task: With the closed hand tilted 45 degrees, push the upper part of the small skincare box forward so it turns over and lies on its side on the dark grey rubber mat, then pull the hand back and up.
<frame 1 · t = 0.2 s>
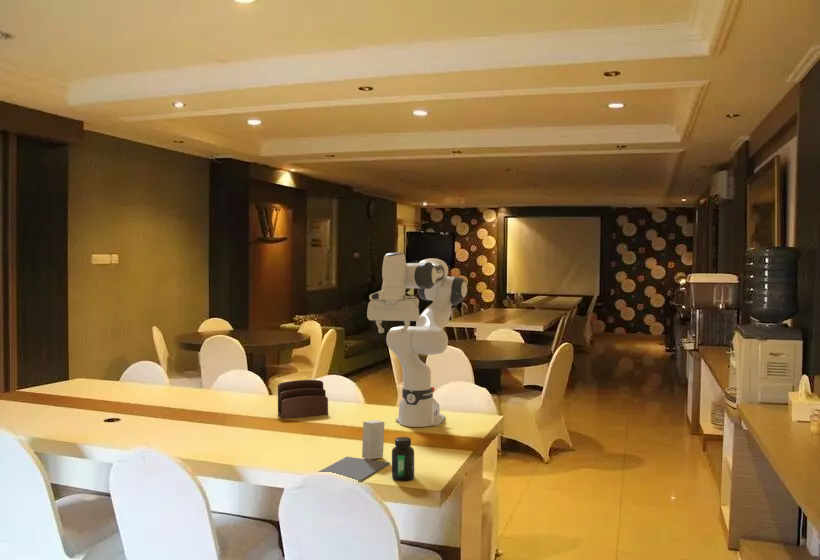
hand: (392, 333, 257), 39 cm above the table, tool pointing down, fingers open, 8 cm apart
supplement bottle: (403, 478, 212), on the table
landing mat: (353, 469, 220), on the table
skincare box: (372, 458, 232), on the table, touching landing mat
letter holder: (302, 415, 297), on the table
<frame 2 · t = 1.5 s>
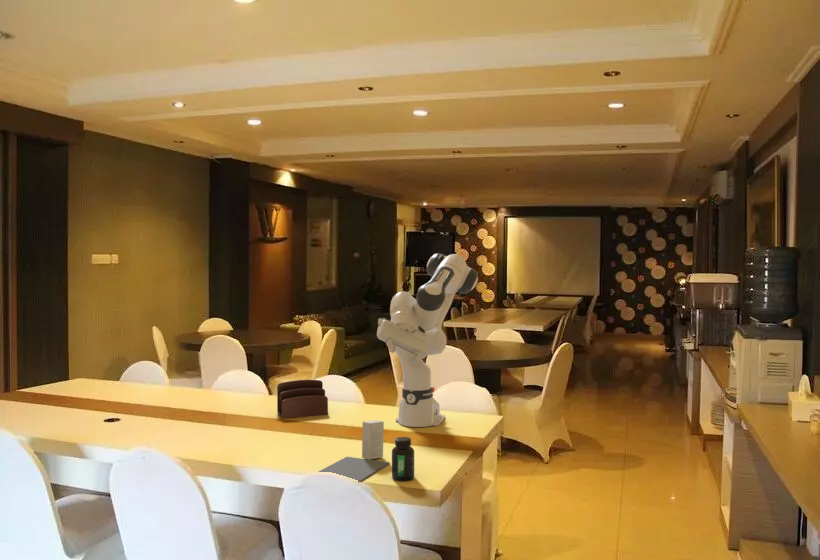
hand: (403, 356, 238), 33 cm above the table, tool tilted 50°, fingers open, 8 cm apart
nothing on the table moved.
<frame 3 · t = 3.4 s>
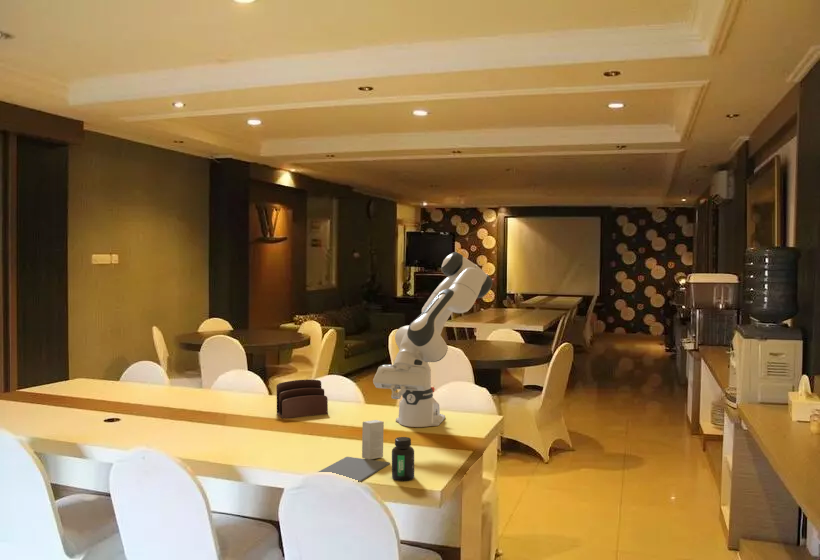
hand: (395, 398, 244), 18 cm above the table, tool tilted 45°, fingers closed
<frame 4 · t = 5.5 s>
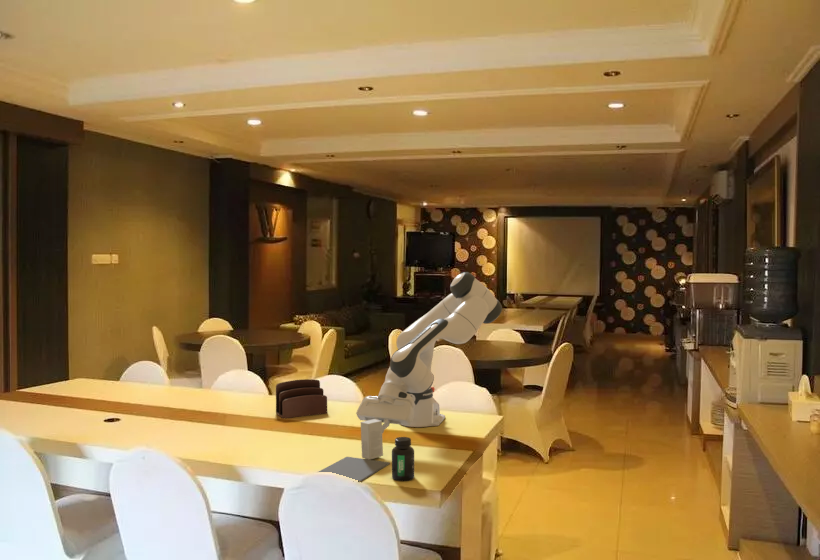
hand: (378, 432, 235), 8 cm above the table, tool tilted 45°, fingers closed
skincare box: (372, 457, 232), on the table, touching gripper, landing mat
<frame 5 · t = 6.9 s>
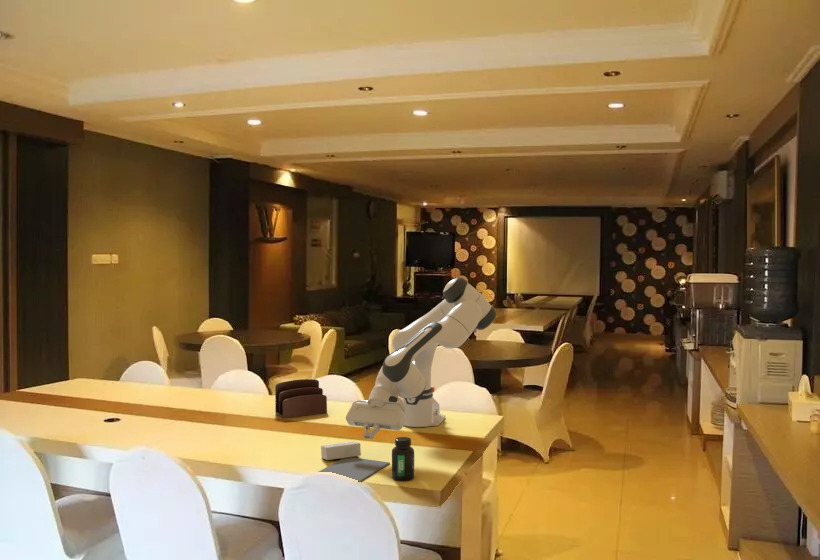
hand: (367, 437, 228), 8 cm above the table, tool tilted 45°, fingers closed
skincare box: (358, 448, 236), point 2 cm above the table, touching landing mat
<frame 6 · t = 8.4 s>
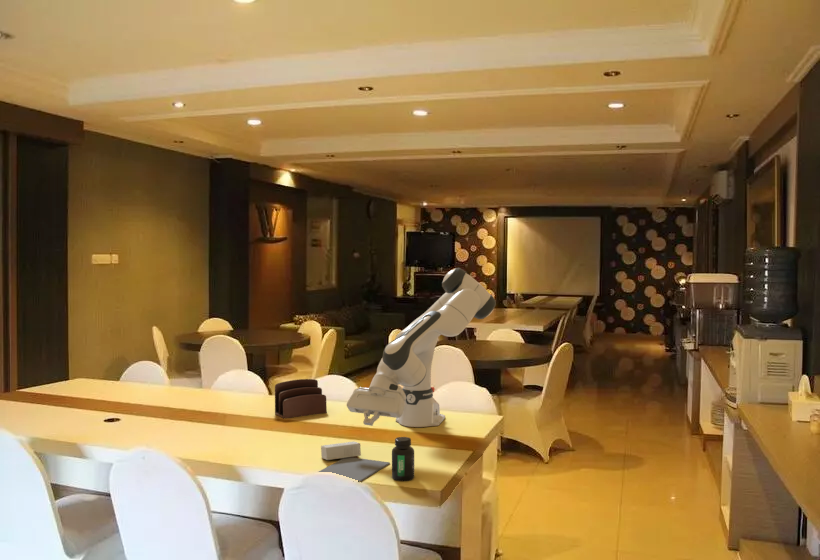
hand: (367, 424, 232), 11 cm above the table, tool tilted 45°, fingers closed
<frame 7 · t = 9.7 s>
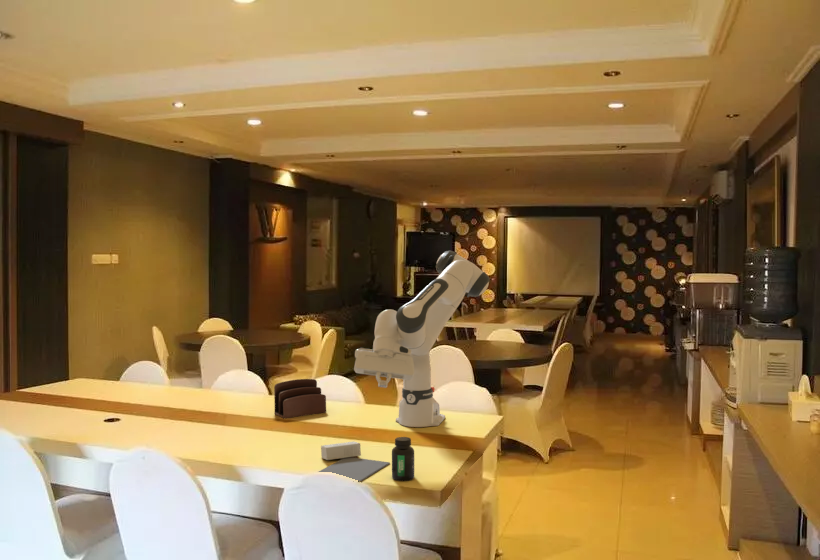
hand: (382, 386, 231), 24 cm above the table, tool tilted 40°, fingers closed
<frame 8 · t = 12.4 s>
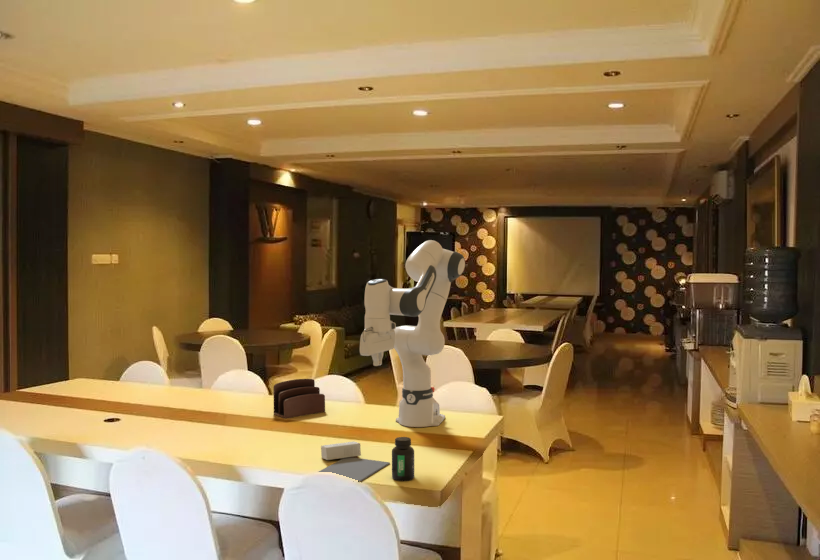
hand: (377, 365, 244), 29 cm above the table, tool pointing down, fingers closed
at the end: skincare box tilted 90°; skincare box inside the target area (8.5 cm from its centre), point 2.4 cm above the table; skincare box touching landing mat, table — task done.
